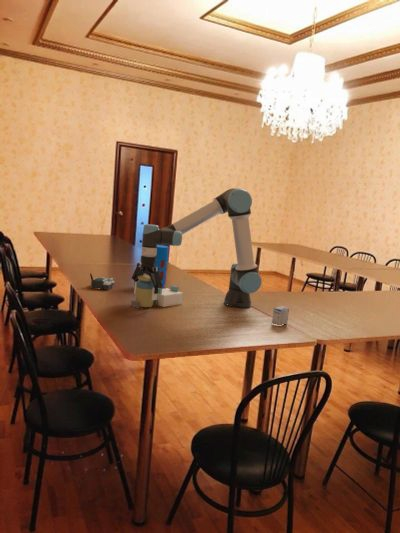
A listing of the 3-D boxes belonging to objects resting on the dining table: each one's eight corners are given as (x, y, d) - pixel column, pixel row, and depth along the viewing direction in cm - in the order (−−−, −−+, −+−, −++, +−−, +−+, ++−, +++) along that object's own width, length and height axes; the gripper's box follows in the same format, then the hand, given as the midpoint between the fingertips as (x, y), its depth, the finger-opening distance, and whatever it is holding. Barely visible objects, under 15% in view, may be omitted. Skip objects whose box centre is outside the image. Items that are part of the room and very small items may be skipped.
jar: (136, 308, 228) (138, 278, 225) (133, 303, 236) (136, 274, 234) (154, 308, 230) (157, 279, 228) (151, 303, 239) (154, 275, 236)
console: (182, 303, 245) (183, 288, 244) (142, 310, 224) (143, 293, 223) (166, 298, 253) (168, 283, 252) (126, 304, 232) (127, 288, 231)
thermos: (145, 284, 285) (148, 244, 281) (161, 284, 289) (165, 245, 285) (151, 288, 275) (154, 247, 271) (167, 288, 279) (171, 247, 275)
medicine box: (279, 322, 228) (281, 305, 227) (287, 324, 226) (289, 307, 224) (271, 325, 222) (273, 307, 221) (279, 327, 220) (281, 310, 218)
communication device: (119, 283, 281) (120, 269, 280) (109, 291, 258) (110, 276, 256) (99, 281, 282) (101, 267, 280) (88, 288, 258) (89, 273, 257)
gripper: (126, 251, 235) (123, 292, 238) (160, 260, 218) (156, 303, 222) (138, 251, 240) (135, 290, 243) (171, 259, 224) (167, 301, 227)
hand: (145, 296), depth 233 cm, fingers open, 13 cm apart
